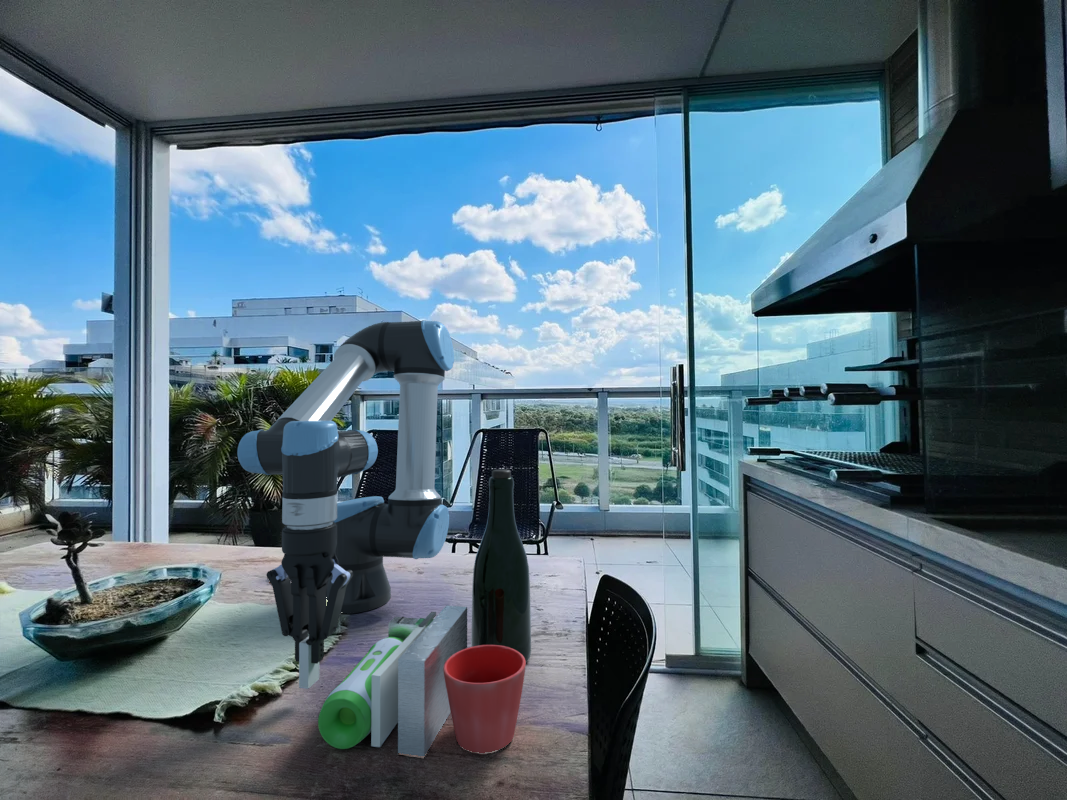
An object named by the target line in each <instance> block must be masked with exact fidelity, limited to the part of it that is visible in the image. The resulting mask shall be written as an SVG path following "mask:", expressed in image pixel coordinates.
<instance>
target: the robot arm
mask: <svg viewBox="0 0 1067 800" xmlns="http://www.w3.org/2000/svg"><path fill="white" fill-rule="evenodd" d="M454 362H455V351H454V345H453V340H452V338H451V335H450V332H449V330H448V328H447V326H446V325H445V324H444V323H442V322H440V321H438V320H436V321H435V320H434V321H433V320H416V321H414V320H413V321H411V320H410V321H394V322H393V321H392V322H389V321H386V322H385V321H383V322H377V323H375V324H371V325H368V326H367V327H365V328H362V329H361V330H359V331H357V332H355V334H353V335H351V336H350V337H348V338H347V339H346V340H345V341H344V342H343V343H342V344H340V346H338V348H337V349H336V350H335V351H334V354H333V360H331V362H330V363H329V364H328V365H327V366H326V367H325V368H324V369H323V370H322V371H321V373H320V374H319V375H318V376H317V377H316V378H315V379H314V380H313V381H312V383H310V384H309V385H308V386H307V388H306V389H304V391H303V392H302V393H301V394H300V395H299V396H298V397H297V398H296V399H295V400H294V401H293V403H292V404H290V406H289V407H288V408H287V409H286V410H285V411H284V412H283V413H282V414H281V415H280V416H279V417H278V419H277V420H275V422H274V423H273V424H272V425H271V426H270V427H269V428H268V429H266V430H265V429H258V430H252V431H250V432H247V433H245V434H244V435H243V436H242V438H241V439H240V441H239V443H238V446H237V459H238V462H239V463H240V465H241V467H242V469H244V470H245V471H247V472H248V473H252V474H260V475H266V476H271V475H282V491H281V492H282V503H281V504H282V507H281V508H282V509H281V510H282V512H281V513H282V514H281V519H282V520H281V522H282V524H283V525H285V526H284V527H283V528H282V529H281V552H282V553H283V554H284V555H283V557H282V560H281V563H280V564H279V566H277V567H275V568H273V569H271V570H268V571H267V572H266V578H267V580H268V582H270V585H271V587H272V592H273V596H274V600H275V605H276V610H277V614H278V615H277V616H278V619H279V625H280V630H281V634H282V635H283V637H290V638H291V639H293V641H294V660H295V662H296V663H298V688H300V689H306V690H308V689H309V688H311V687H312V686H313V685H314V684H316V683H317V681H318V680H320V662H321V661H322V660H323V659H324V657H325V640H326V639H328V638H329V637H330V636H331V635H333V634H334V633H336V632H337V630H338V626H339V621H340V617H341V614H340V613H341V612H343V613H347V614H348V615H349V614H358V613H363V612H368V611H371V610H375V609H377V608H379V607H381V606H384V605H386V604H387V603H388V602H389V601H390V600H391V597H392V595H391V592H392V591H391V584H390V581H389V578H388V576H387V572H386V569H385V567H384V558H405V559H412V560H413V559H414V560H420V559H432V558H434V557H437V555H438V554H440V552H441V550H442V548H443V547H444V544H445V543H446V539H447V536H448V532H449V527H450V514H449V512H450V511H449V508H448V507H447V506H446V505H444V504H441V500H442V497H441V495H440V494H439V493H438V491H437V490H436V489H435V483H436V481H435V480H436V479H435V478H436V456H437V455H436V453H437V449H436V448H437V421H438V419H437V418H438V393H439V392H438V391H439V385H441V383H442V382H444V381H445V376H446V375H445V373H446V372H449V371H450V370H452V369H453V368H454ZM381 372H382V373H383V372H393V378H394V379H395V381H397V383H399V404H398V405H399V406H398V424H397V425H398V429H397V450H396V451H397V452H396V453H397V455H396V478H395V490H394V491H393V492H392V493H390V495H389V496H388V498H387V499H388V503H385V500H384V497H382V496H377V495H375V496H374V495H373V496H367V497H366V496H365V497H359V498H355V499H354V498H353V499H347V500H344V501H341V502H338V478H342V477H345V476H351V475H358V474H359V473H362V472H363V471H366V470H368V469H370V468H372V466H373V465H374V464H375V462H376V460H377V457H378V453H379V449H378V448H379V447H378V444H377V441H376V440H375V438H374V436H373V435H371V434H370V433H369V432H367V431H365V430H360V429H359V430H358V429H346V430H338V425H337V423H336V421H334V420H333V419H334V418H335V417H336V415H337V414H338V413H339V411H341V409H342V407H344V405H345V404H346V403H347V401H348V400H349V399H350V398H351V396H352V395H353V394H354V393H355V392H356V390H357V388H359V386H361V384H362V382H366V381H369V380H371V378H372V377H373V376H375V374H377V373H381ZM326 597H327V598H326ZM326 599H327V600H328V602H327V606H326Z"/></svg>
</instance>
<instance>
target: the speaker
mask: <svg viewBox="0 0 1067 800" xmlns="http://www.w3.org/2000/svg"><path fill="white" fill-rule="evenodd" d="M403 641H404V640H402V639H400V638H398V637H387V636H386V637H384V638H382V639H380V640H378V641H377V642H375V643H374V644H373V645H372V646H371V647H370V648H369V649H368V652H367V653H366V654H365V655H364V656H363V657H362V658H361V660H360V661H359V662H358V663H357V664H356V665H355V666H354V668H353V669H352V670H351V671H350V672H349V674H348V675H346V677H345V678H344V679H343V680H342V681H341V683H339V684H338V685H337V686H336V687H335V688H334V689H333V690H332V691H330V692H329V695H327V697H326V699H325V701H324V702H323V704H322V707H321V709H320V712H319V713H318V714H319V715H318V718H317V724H318V725H317V726H318V730H319V733H320V735H321V737H322V739H323V740H324V741H325V742H326V743H327V744H328V745H329V746H331V747H333V748H335V749H338V750H347V749H350V748H353V747H355V746H356V745H358V744H359V743H360V742H361V741H363V740H364V739H365V738H366V737H367V736H369V734H370V733H371V698H372V674H373V673H374V672H375V671H376V670H377V669H378V668H379V667H380V666H381V665H382V664H383V663H384V661H385V660H386V659H387V658H388V657H389V656H390V655H391V654H392V653H393V652H394V651H395V650H396V649H397V648H398V647H399V646H400V644H401V643H402V642H403Z"/></svg>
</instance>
